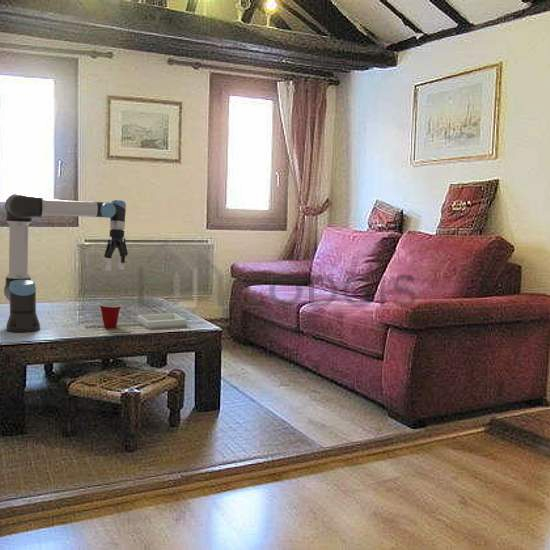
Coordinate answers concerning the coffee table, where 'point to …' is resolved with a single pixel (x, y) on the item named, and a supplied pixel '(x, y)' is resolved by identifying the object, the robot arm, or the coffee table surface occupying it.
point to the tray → (162, 321)
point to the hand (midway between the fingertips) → (114, 270)
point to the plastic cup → (110, 314)
